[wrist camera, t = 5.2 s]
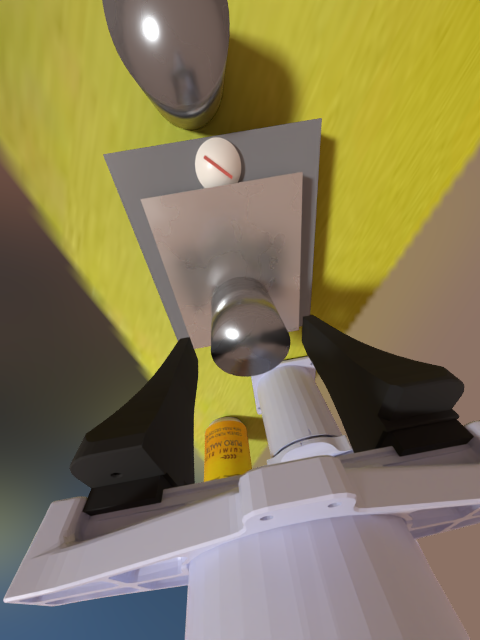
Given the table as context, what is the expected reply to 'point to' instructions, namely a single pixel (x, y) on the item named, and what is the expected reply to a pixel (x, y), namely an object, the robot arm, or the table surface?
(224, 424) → the beer can
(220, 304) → the steel weight
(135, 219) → the scale base
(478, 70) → the table surface
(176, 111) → the cylinder
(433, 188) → the table surface
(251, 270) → the scale pan
